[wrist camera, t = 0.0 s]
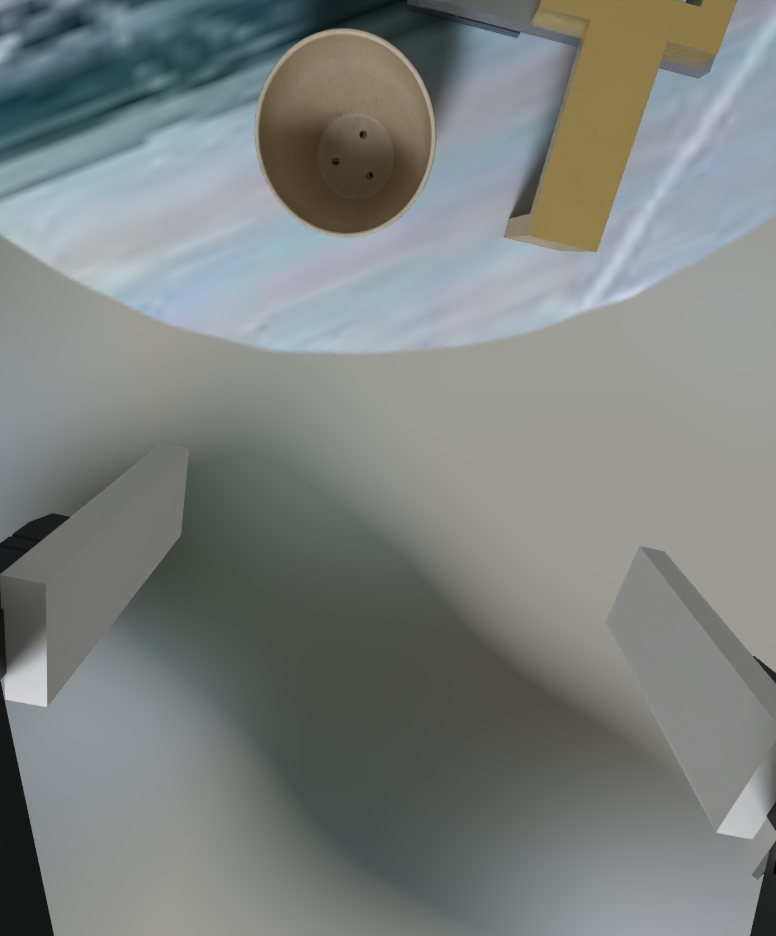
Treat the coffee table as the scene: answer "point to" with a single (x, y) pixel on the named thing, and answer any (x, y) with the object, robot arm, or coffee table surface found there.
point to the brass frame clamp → (595, 93)
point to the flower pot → (345, 132)
